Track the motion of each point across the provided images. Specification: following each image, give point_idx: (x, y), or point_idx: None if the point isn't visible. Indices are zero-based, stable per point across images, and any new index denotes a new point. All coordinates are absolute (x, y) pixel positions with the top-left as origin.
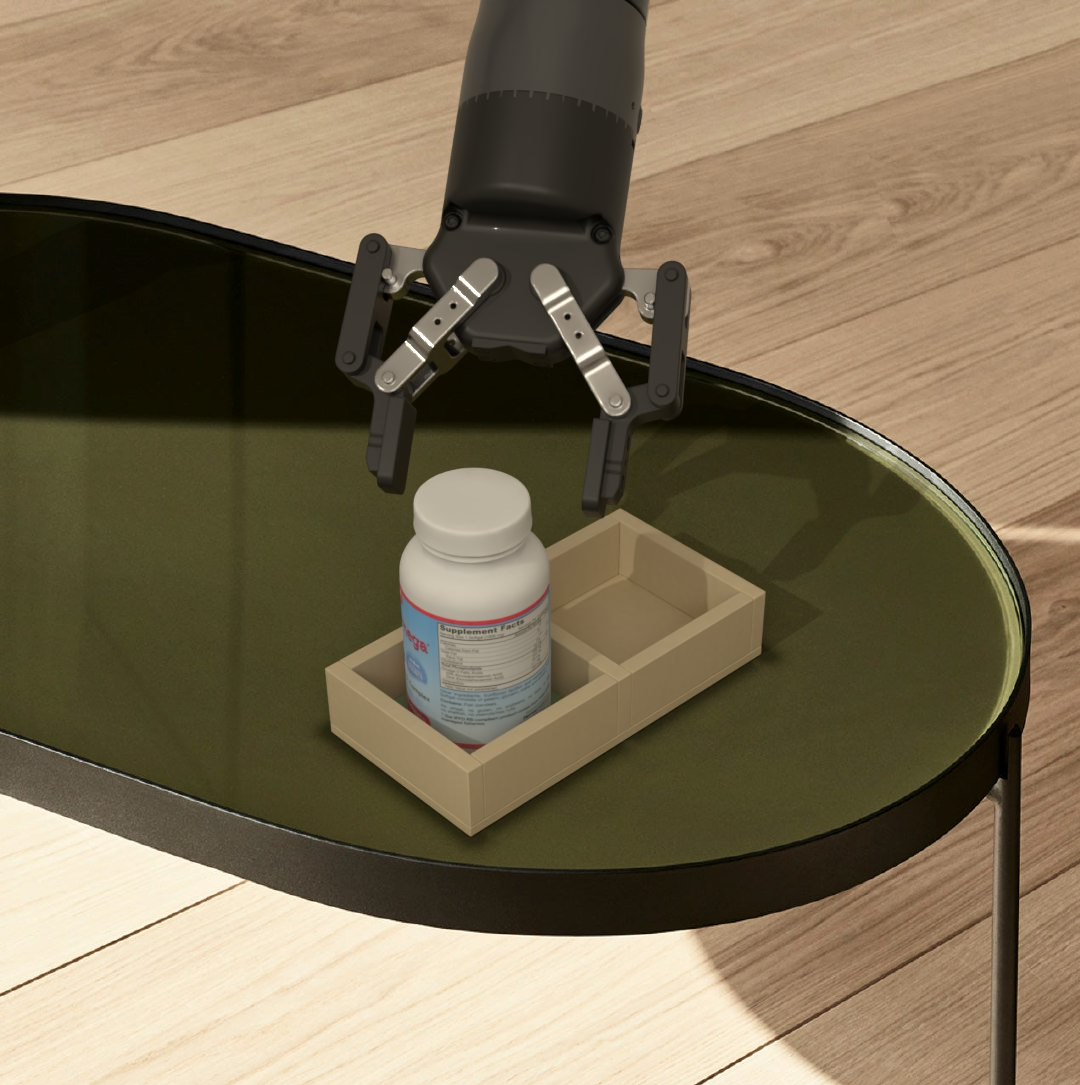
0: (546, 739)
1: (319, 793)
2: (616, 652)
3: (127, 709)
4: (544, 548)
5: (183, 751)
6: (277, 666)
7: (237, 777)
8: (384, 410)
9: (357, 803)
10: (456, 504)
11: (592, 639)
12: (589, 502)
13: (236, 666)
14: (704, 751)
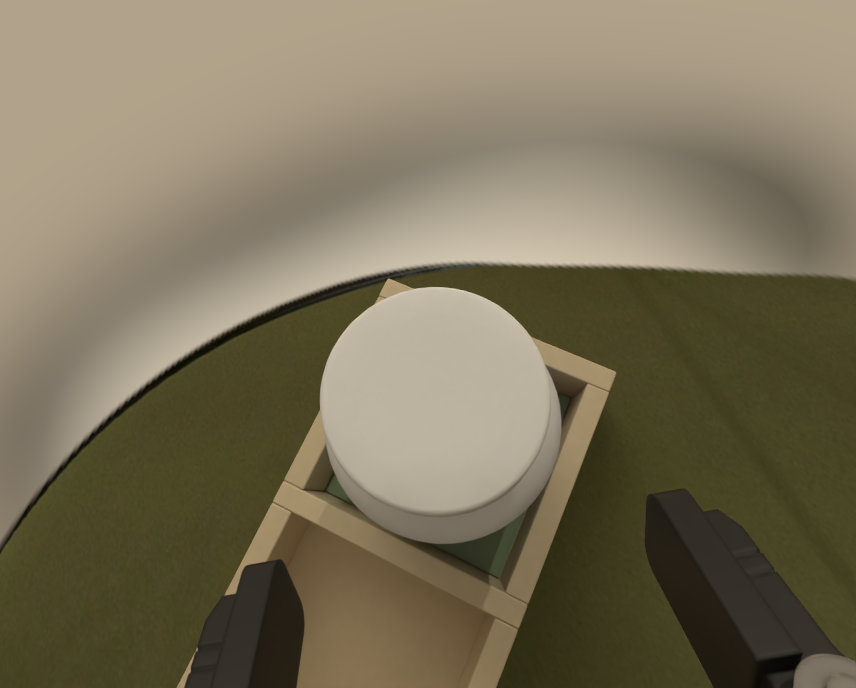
0: None
1: (555, 309)
2: (352, 632)
3: (810, 344)
4: (342, 484)
5: (712, 311)
6: (712, 470)
7: (640, 299)
8: (788, 630)
9: (515, 311)
10: (454, 367)
11: (388, 648)
12: (261, 563)
13: (754, 453)
14: (224, 509)
